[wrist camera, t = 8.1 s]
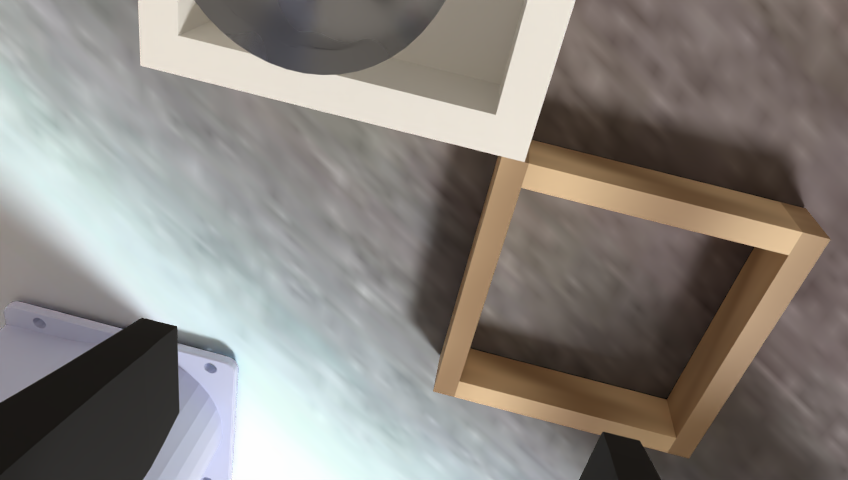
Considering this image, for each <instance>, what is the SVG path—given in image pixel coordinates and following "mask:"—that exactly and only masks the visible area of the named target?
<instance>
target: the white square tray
mask: <svg viewBox="0 0 848 480" xmlns="http://www.w3.org/2000/svg"><path fill="white" fill-rule="evenodd" d="M574 3H575V0H446V1H445V3H444V4H443V6H442V8H441V9H440V11H439V12H438V13H437V15H436V16H435V18H434V19H433V20H432V21H431V22H430V24H429V25H428V26H427V27H426V28H425V30H424V31H423V32H422V33H421V34H420V35H419V36H418V37H417V38H416V39H415V40H414V41H413V42H412V43H410V44H409V45H408V46H407V47H406V48H404V49H403V50H402V51H400V52H399V53H397V54H396V55H394V56H393V57H391V58H389V59H387V60H385V61H383V62H381V63H379V64H377V65H375V66H372V67H369V68H366V69H363V70H360V71H357V72H351V73H345V74H339V75H316V74H305V73H300V72H296V71H292V70H287V69H284V68H282V67H279V66H276V65H273V64H271V63H268V62H266V61H264V60H262V59H260V58H258V57H257V56H255V55H253V54H251V53H249V52H248V51H246V50H245V49H243V48H242V47H240V46H239V45H237V44H236V43H235V42H234V41H232V40H231V39H230V38H229V37H228V36H226V35H225V34H224V33H223V32H222V31H220V30H219V29H218V27H217V26H216V25H215V24H214V23H213V22H212V21H211V20H210V19H209V18H208V17H207V16H206V15H205V14H204V12H203V11H202V10H201V8H200V7H199V6H198V5H197V3H196V2H195V1H194V0H138V11H139V37H140V63H141V66H144V67H148V68H152V69H156V70H160V71H164V72H168V73H172V74H176V75H180V76H184V77H188V78H192V79H196V80H200V81H204V82H208V83H212V84H216V85H220V86H224V87H228V88H232V89H236V90H240V91H243V92H247V93H251V94H255V95H259V96H263V97H267V98H271V99H275V100H279V101H283V102H287V103H291V104H295V105H299V106H303V107H307V108H311V109H315V110H319V111H323V112H327V113H331V114H335V115H339V116H343V117H347V118H351V119H355V120H359V121H363V122H367V123H371V124H375V125H379V126H383V127H387V128H391V129H395V130H399V131H403V132H406V133H410V134H414V135H418V136H422V137H426V138H430V139H434V140H438V141H442V142H446V143H450V144H454V145H458V146H462V147H466V148H470V149H474V150H478V151H482V152H486V153H490V154H494V155H498V156H502V157H506V158H510V159H514V160H518V161H522V162H525V159H526V156H527V153H528V149H529V146H530V143H531V140H532V137H533V133H534V130H535V127H536V124H537V121H538V118H539V114H540V111H541V108H542V105H543V102H544V99H545V95H546V92H547V89H548V86H549V83H550V80H551V76H552V73H553V70H554V67H555V64H556V60H557V57H558V54H559V51H560V48H561V45H562V41H563V38H564V35H565V32H566V29H567V26H568V22H569V19H570V16H571V13H572V10H573V7H574Z"/></svg>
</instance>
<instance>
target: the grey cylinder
mask: <svg viewBox="0 0 848 480" xmlns="http://www.w3.org/2000/svg"><path fill="white" fill-rule="evenodd" d="M194 1H195V2H196V3H197V5H198V6H199V7H200V8H201V10H202V11H203V12H204V14H205V15H206V16H207V17H208V18H209V19H210V20H211V21H212V22H213V23H214V24H215V25H216V26H217V27H218V29H219V30H220V31H222V32H223V33H224V34H225V35H226V36H228V37H229V38H230V39H231V40H232V41H234V42H235V43H236V44H237V45H239V46H240V47H242V48H243V49H245V50H246V51H248V52H249V53H251V54H253V55H255V56H257V57H258V58H260V59H262V60H264V61H266V62H268V63H271V64H273V65H276V66H279V67H282V68H284V69H287V70H292V71H296V72H300V73H305V74H316V75H339V74H345V73H351V72H357V71H360V70H363V69H366V68H369V67H372V66H375V65H377V64H379V63H381V62H383V61H385V60H387V59H389V58H391V57H393V56H394V55H396V54H397V53H399V52H400V51H402V50H403V49H404V48H406V47H407V46H408V45H409V44H410V43H412V42H413V41H414V40H415V39H416V38H417V37H418V36H419V35H420V34H421V33H422V32H423V31H424V30H425V28H426V27H427V26H428V25H429V24H430V22H431V21H432V20H433V19H434V18H435V16H436V15H437V13H438V12H439V11H440V9H441V8H442V6H443V4H444V3H445V1H446V0H194Z"/></svg>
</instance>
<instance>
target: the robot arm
mask: <svg viewBox="0 0 848 480" xmlns="http://www.w3.org/2000/svg"><path fill="white" fill-rule="evenodd" d="M4 316H5V321H6V325H5V326H4V327H3V328H2V329H1V330H0V480H232V470H233V453H234V437H235V420H236V404H237V387H238V371H239V368H238V364H237V363H236V361H235V360H233V359H232V358H230V357H228V356H224V355H221V354H217V353H213V352H209V351H205V350H202V349H198V348H194V347H190V346H186V345H183V344H179V343H178V342H177V326H173V325H169V324H165V323H161V322H157V321H153V320H149V319H145V318H141V319H139V320H138V321H136V322H134V323H133V324H131V325H129V326H128V327H126V328H124V329H122V328H118V327H114V326H110V325H107V324H103V323H99V322H95V321H91V320H88V319H84V318H80V317H76V316H72V315H69V314H65V313H61V312H57V311H53V310H50V309H46V308H42V307H38V306H34V305H31V304H27V303H23V302H19V301H14V302H11V303H10V304H9V305H8V306H6V308H5V309H4ZM210 363H211V364H213V365H214V366H213V365H211V364H210ZM579 480H661V479H660V477H659V475H658V473H657V471H656V470H655V468H654V466H653V464H652V462H651V460H650V458H649V456H648V454H647V453H646V451H645V449H644V447H643V445H642V444H641V442H640V440H636V439H631V438H627V437H623V436H619V435H615V434H611V433H607V432H602V434H601V436H600V438H599V440H598V442H597V444H596V446H595V448H594V450H593V452H592V454H591V456H590V458H589V460H588V463H587V465H586V467H585V469H584V471H583V473H582V475H581V477H580V479H579Z"/></svg>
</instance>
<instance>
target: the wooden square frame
mask: <svg viewBox="0 0 848 480" xmlns="http://www.w3.org/2000/svg"><path fill="white" fill-rule="evenodd" d="M521 188H524V189H528V190H532V191H536V192H540V193H544V194H548V195H552V196H556V197H560V198H564V199H568V200H572V201H575V202H579V203H583V204H587V205H591V206H595V207H599V208H603V209H607V210H611V211H615V212H619V213H623V214H627V215H631V216H635V217H639V218H643V219H647V220H651V221H655V222H659V223H663V224H666V225H670V226H674V227H678V228H682V229H686V230H690V231H694V232H698V233H702V234H706V235H710V236H714V237H718V238H722V239H726V240H730V241H734V242H738V243H742V244H746V245H750V246H754V249H753V250H752V252H751V254H750V256H749V257H748V259H747V261H746V263H745V264H744V266H743V268H742V270H741V271H740V273H739V275H738V277H737V278H736V280H735V282H734V283H733V285H732V287H731V289H730V290H729V292H728V294H727V296H726V297H725V299H724V301H723V303H722V304H721V306H720V308H719V310H718V311H717V313H716V315H715V317H714V318H713V320H712V322H711V323H710V325H709V327H708V329H707V330H706V332H705V334H704V336H703V337H702V339H701V341H700V343H699V344H698V346H697V348H696V350H695V351H694V353H693V355H692V357H691V358H690V360H689V362H688V364H687V365H686V367H685V369H684V370H683V372H682V374H681V376H680V377H679V379H678V381H677V383H676V384H675V386H674V388H673V390H672V391H671V393H670V395H669V397H668V398H667V400H666V399H662V398H658V397H655V396H651V395H647V394H643V393H639V392H635V391H632V390H628V389H624V388H620V387H616V386H612V385H609V384H605V383H601V382H597V381H593V380H589V379H585V378H582V377H578V376H574V375H570V374H566V373H562V372H559V371H555V370H551V369H547V368H543V367H539V366H536V365H532V364H528V363H524V362H520V361H516V360H512V359H509V358H505V357H501V356H497V355H493V354H489V353H486V352H482V351H478V350H474V349H470V346H471V343H472V340H473V337H474V334H475V331H476V327H477V324H478V321H479V318H480V315H481V312H482V309H483V306H484V302H485V299H486V296H487V293H488V290H489V287H490V284H491V281H492V277H493V274H494V271H495V268H496V265H497V262H498V259H499V255H500V252H501V249H502V246H503V243H504V240H505V237H506V234H507V230H508V227H509V224H510V221H511V218H512V215H513V212H514V209H515V205H516V202H517V199H518V196H519V193H520V190H521ZM829 241H830V238H829V237H828V236H827V234H826V233H825V232H824V231H823V229H822V228H821V227H820V226H819V224H818V223H817V222H816V221H815V219H814V218H813V217H812V216H811V214H810V213H809V212H808V211H807V209H806V208H802V207H798V206H794V205H790V204H786V203H782V202H778V201H774V200H770V199H766V198H762V197H758V196H754V195H750V194H746V193H742V192H738V191H734V190H730V189H726V188H722V187H718V186H714V185H710V184H706V183H702V182H698V181H694V180H690V179H686V178H682V177H678V176H674V175H670V174H666V173H662V172H658V171H654V170H650V169H646V168H642V167H638V166H634V165H630V164H626V163H622V162H618V161H614V160H610V159H606V158H602V157H598V156H594V155H590V154H586V153H582V152H578V151H574V150H570V149H566V148H562V147H558V146H554V145H550V144H546V143H543V142H539V141H535V140H531V143H530V146H529V149H528V153H527V156H526V159H525V162H522V161H518V160H514V159H510V158H506V157H502V156H498V158H497V161H496V165H495V168H494V172H493V175H492V179H491V182H490V185H489V189H488V192H487V196H486V199H485V203H484V206H483V210H482V213H481V217H480V220H479V224H478V227H477V230H476V234H475V237H474V241H473V244H472V248H471V251H470V255H469V258H468V262H467V265H466V269H465V272H464V276H463V279H462V282H461V286H460V289H459V293H458V296H457V300H456V303H455V307H454V310H453V314H452V317H451V321H450V324H449V327H448V331H447V334H446V338H445V341H444V345H443V348H442V352H441V355H440V359H439V364H438V370H437V375H436V380H435V385H434V390H433V391H434V392H438V393H442V394H445V395H449V396H453V397H457V398H461V399H464V400H468V401H472V402H476V403H480V404H483V405H487V406H491V407H495V408H499V409H502V410H506V411H510V412H514V413H518V414H522V415H525V416H529V417H533V418H537V419H541V420H544V421H548V422H552V423H556V424H560V425H563V426H567V427H571V428H575V429H579V430H582V431H586V432H590V433H594V434H598V435H601V434H602V432H607V433H611V434H615V435H619V436H623V437H627V438H631V439H636V440H640V442H641V444H642V445H643V447H647V448H651V449H655V450H659V451H662V452H666V453H670V454H674V455H678V456H682V457H685V458H690V456H691V454H692V453H693V451H694V450H695V448H696V447H697V445H698V444H699V442H700V440H701V439H702V437H703V436H704V434H705V433H706V431H707V430H708V428H709V427H710V425H711V423H712V422H713V420H714V419H715V417H716V416H717V414H718V413H719V411H720V410H721V408H722V406H723V405H724V403H725V402H726V400H727V399H728V397H729V396H730V394H731V393H732V391H733V389H734V388H735V386H736V385H737V383H738V382H739V380H740V379H741V377H742V376H743V374H744V372H745V371H746V369H747V368H748V366H749V365H750V363H751V362H752V360H753V359H754V357H755V355H756V354H757V352H758V351H759V349H760V348H761V346H762V345H763V343H764V342H765V340H766V338H767V337H768V335H769V334H770V332H771V331H772V329H773V328H774V326H775V324H776V323H777V321H778V320H779V318H780V317H781V315H782V314H783V312H784V311H785V309H786V307H787V306H788V304H789V303H790V301H791V300H792V298H793V297H794V295H795V294H796V292H797V290H798V289H799V287H800V286H801V284H802V283H803V281H804V280H805V278H806V277H807V275H808V273H809V272H810V270H811V269H812V267H813V266H814V264H815V263H816V261H817V260H818V258H819V256H820V255H821V253H822V252H823V250H824V249H825V247H826V246H827V244H828V243H829Z"/></svg>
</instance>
